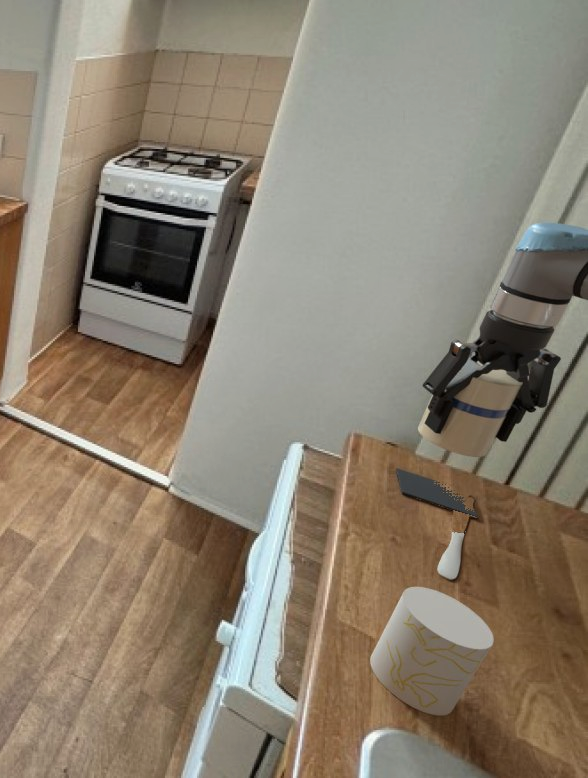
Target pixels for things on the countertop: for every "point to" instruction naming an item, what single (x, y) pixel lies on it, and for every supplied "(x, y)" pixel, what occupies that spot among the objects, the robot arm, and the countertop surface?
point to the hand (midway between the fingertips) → (464, 432)
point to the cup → (430, 650)
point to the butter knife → (451, 557)
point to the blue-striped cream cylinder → (475, 414)
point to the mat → (430, 491)
